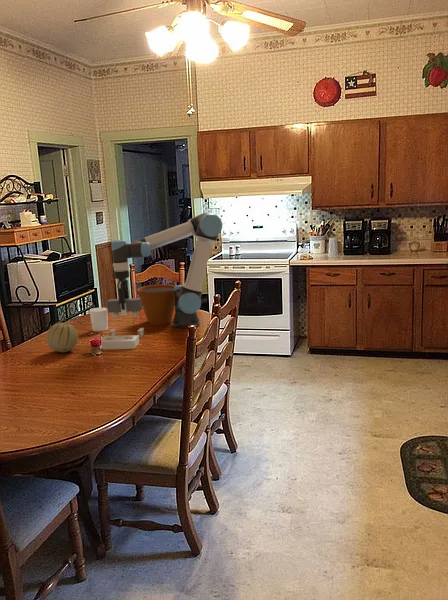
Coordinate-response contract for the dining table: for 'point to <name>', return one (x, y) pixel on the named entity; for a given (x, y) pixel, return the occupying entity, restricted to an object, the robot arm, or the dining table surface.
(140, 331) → the wooden rests
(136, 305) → the peg strip
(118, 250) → the robot arm
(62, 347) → the cantaloupe
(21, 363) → the dining table surface
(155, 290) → the flower pot
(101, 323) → the white cylinder
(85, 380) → the dining table surface
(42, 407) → the dining table surface
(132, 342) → the hole board
